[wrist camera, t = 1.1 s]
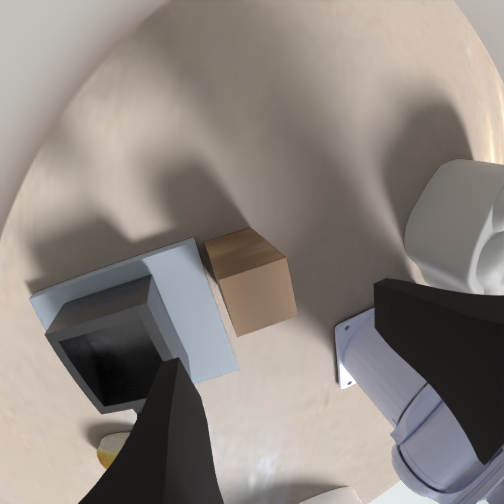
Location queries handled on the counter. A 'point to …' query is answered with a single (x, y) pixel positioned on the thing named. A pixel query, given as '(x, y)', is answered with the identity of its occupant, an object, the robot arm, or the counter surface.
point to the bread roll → (111, 447)
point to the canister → (335, 497)
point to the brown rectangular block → (252, 280)
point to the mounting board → (174, 297)
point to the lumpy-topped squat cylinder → (460, 228)
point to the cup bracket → (116, 343)
